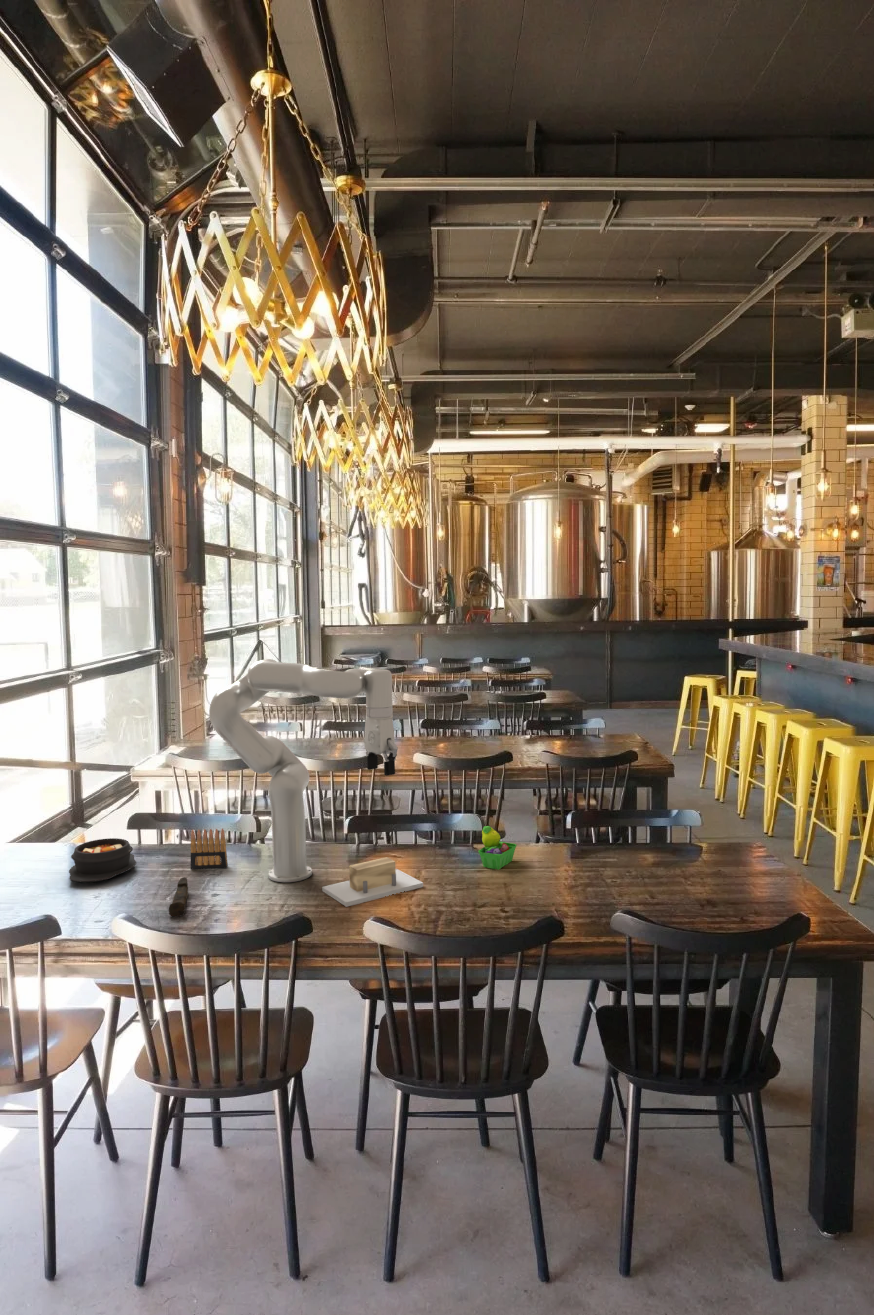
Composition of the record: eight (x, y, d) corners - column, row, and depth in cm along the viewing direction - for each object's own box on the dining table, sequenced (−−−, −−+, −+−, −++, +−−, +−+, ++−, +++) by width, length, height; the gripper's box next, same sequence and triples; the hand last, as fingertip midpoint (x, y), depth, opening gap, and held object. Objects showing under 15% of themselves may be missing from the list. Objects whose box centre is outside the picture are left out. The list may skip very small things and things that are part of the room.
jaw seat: (322, 891, 223) (321, 876, 223) (397, 872, 237) (396, 858, 236) (346, 906, 212) (345, 891, 211) (423, 886, 225) (422, 872, 225)
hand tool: (185, 917, 208) (184, 899, 207) (168, 918, 207) (168, 900, 207) (195, 890, 226) (194, 874, 226) (180, 891, 226) (179, 875, 226)
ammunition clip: (227, 866, 245) (226, 827, 245) (226, 868, 244) (225, 829, 243) (191, 867, 245) (190, 828, 244) (190, 869, 243) (188, 830, 242)
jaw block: (349, 886, 223) (349, 865, 222) (387, 877, 229) (387, 857, 229) (357, 891, 219) (356, 870, 219) (395, 882, 226) (395, 861, 225)
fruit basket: (500, 872, 236) (499, 834, 235) (473, 867, 241) (473, 829, 240) (517, 860, 246) (517, 824, 245) (492, 856, 250) (491, 820, 249)
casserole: (119, 887, 229) (118, 858, 229) (53, 889, 229) (51, 860, 228) (148, 858, 254) (147, 832, 254) (88, 860, 254) (87, 833, 253)
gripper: (353, 710, 237) (355, 768, 238) (383, 717, 222) (384, 779, 224) (375, 708, 241) (377, 765, 242) (406, 715, 226) (408, 775, 228)
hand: (380, 771), depth 233 cm, fingers open, 9 cm apart
